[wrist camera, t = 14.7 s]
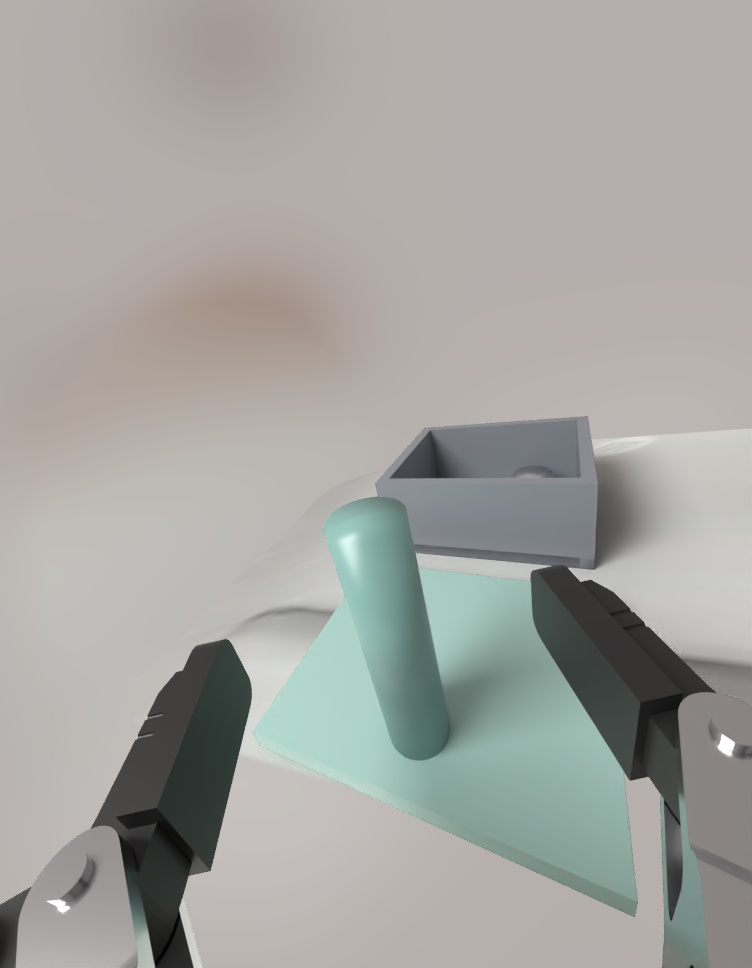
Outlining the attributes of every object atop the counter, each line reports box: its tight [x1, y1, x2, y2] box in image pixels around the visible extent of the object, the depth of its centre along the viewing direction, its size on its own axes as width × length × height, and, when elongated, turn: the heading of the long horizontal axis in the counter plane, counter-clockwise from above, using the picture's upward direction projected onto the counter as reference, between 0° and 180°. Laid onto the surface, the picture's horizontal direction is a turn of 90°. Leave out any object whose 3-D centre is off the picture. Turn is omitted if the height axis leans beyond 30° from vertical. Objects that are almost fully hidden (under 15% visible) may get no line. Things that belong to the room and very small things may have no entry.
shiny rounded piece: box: [513, 466, 553, 478], centre depth 30 cm, size 3×3×2 cm
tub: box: [375, 416, 598, 569], centre depth 30 cm, size 14×12×6 cm
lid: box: [252, 497, 638, 917], centre depth 16 cm, size 14×12×12 cm
